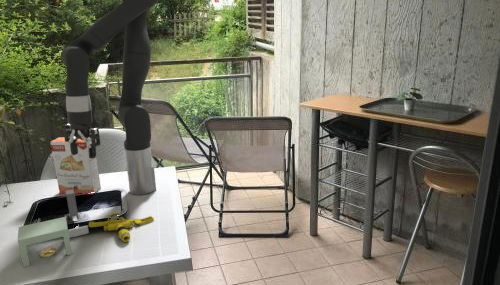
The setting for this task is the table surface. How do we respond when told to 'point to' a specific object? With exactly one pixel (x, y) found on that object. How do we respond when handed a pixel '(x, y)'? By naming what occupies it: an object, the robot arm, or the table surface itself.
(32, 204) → the table surface
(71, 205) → the block
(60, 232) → the footstool
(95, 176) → the cracker box
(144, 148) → the robot arm
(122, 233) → the sprinkler
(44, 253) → the token
